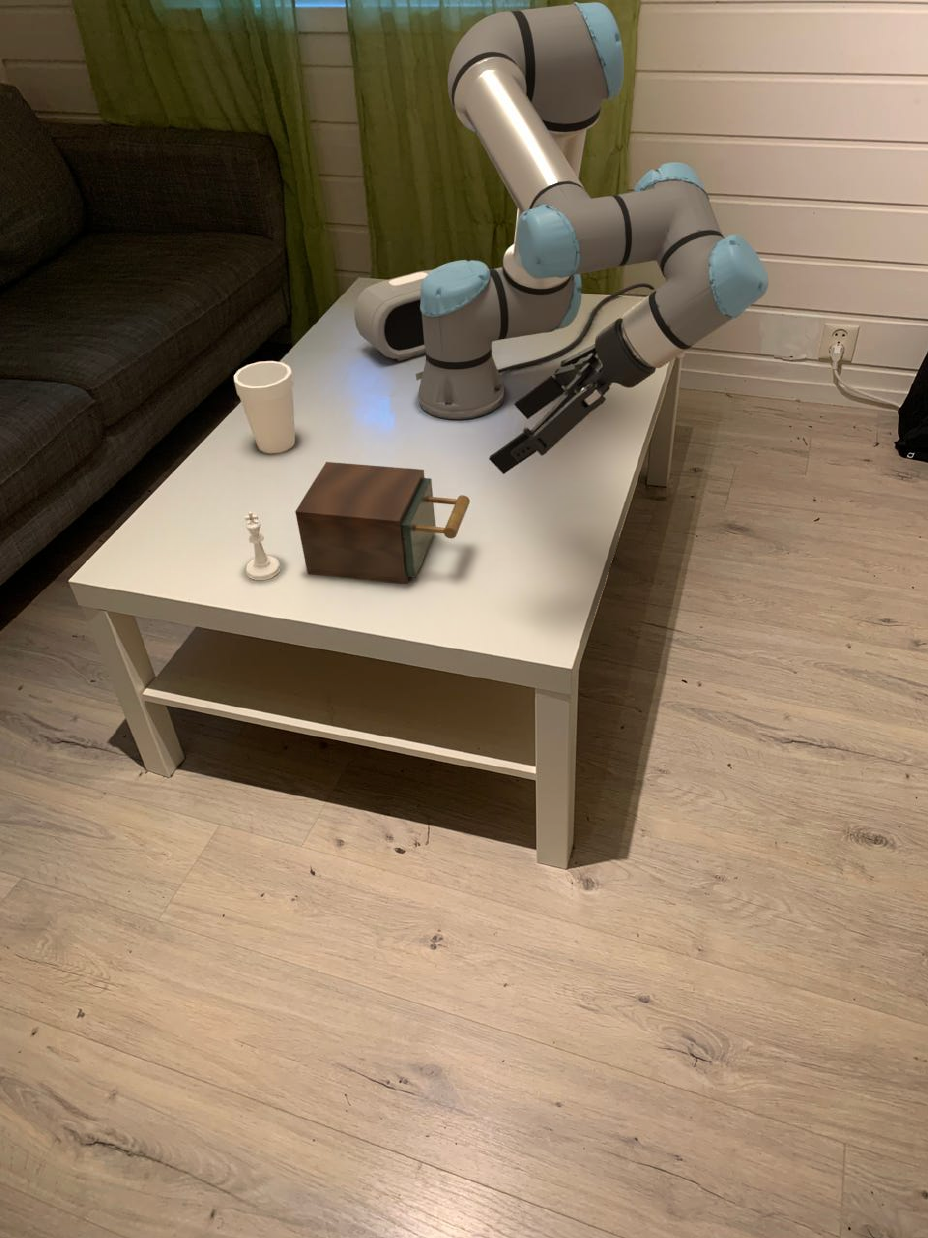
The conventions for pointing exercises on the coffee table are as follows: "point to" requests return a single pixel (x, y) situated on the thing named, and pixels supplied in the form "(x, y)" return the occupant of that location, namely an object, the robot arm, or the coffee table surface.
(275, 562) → the chess piece
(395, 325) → the alarm clock
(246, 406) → the foam cup
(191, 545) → the coffee table surface
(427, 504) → the drawer
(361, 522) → the cabinet
